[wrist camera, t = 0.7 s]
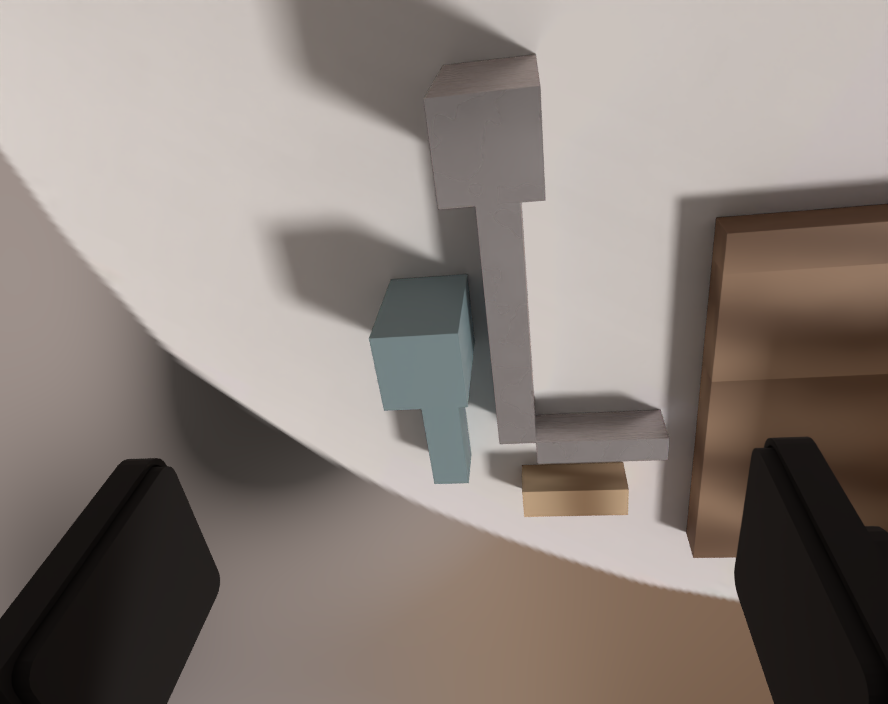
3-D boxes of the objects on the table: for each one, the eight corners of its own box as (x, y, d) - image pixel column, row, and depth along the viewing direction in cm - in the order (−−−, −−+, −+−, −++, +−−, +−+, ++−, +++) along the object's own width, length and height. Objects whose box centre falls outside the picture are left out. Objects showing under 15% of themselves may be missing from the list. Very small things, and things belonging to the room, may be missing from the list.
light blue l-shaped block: (390, 279, 35) (369, 338, 30) (467, 274, 34) (458, 333, 29) (422, 455, 41) (409, 529, 36) (487, 453, 40) (483, 528, 35)
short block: (524, 487, 42) (524, 516, 40) (522, 463, 41) (522, 492, 39) (622, 484, 41) (627, 514, 39) (622, 460, 40) (628, 489, 38)
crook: (443, 64, 29) (423, 98, 23) (682, 36, 27) (727, 64, 21) (485, 437, 40) (479, 525, 34) (659, 430, 38) (685, 521, 32)
